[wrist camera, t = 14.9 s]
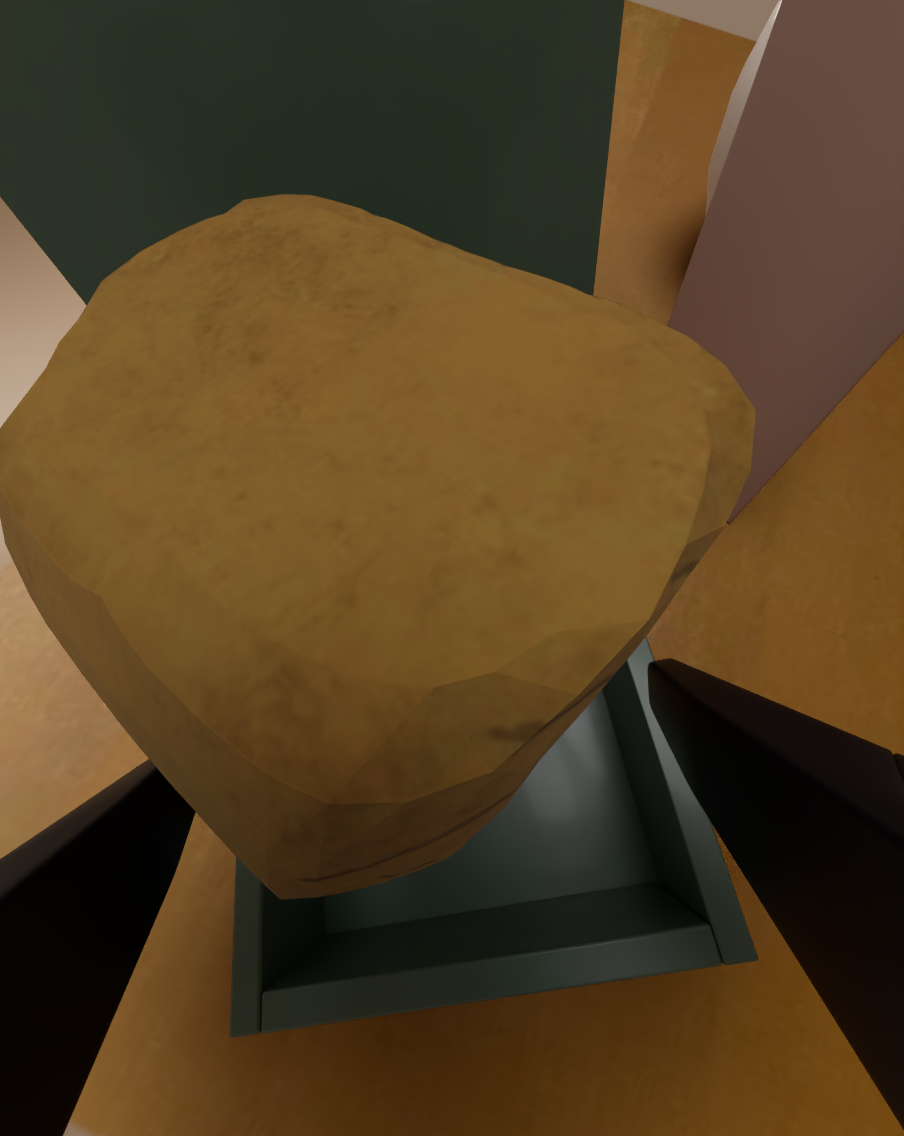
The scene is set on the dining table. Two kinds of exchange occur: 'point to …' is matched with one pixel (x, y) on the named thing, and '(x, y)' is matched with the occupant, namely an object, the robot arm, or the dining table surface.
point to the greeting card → (806, 224)
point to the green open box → (513, 893)
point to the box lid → (309, 121)
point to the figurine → (358, 522)
